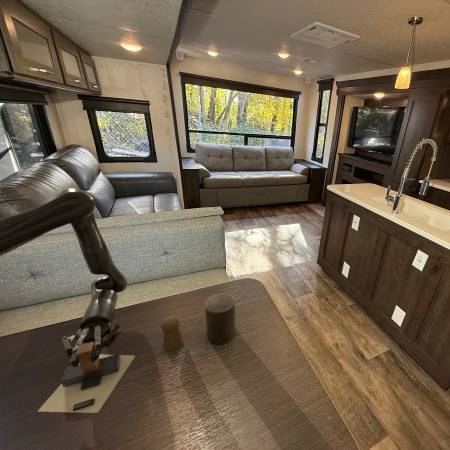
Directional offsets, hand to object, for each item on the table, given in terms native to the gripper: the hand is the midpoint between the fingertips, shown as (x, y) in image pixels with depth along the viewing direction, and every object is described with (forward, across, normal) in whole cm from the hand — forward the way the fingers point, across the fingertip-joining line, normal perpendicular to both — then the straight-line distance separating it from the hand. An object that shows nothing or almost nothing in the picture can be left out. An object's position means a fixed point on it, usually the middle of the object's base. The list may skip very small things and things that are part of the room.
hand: (83, 362), depth 63 cm
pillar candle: (-6, +35, +10) cm, 37 cm away
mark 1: (-1, 0, +8) cm, 8 cm away
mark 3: (+6, 0, +8) cm, 10 cm away
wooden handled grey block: (-3, 0, +8) cm, 9 cm away
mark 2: (+1, 0, +8) cm, 8 cm away
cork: (-6, +20, +10) cm, 23 cm away
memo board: (-1, 0, +10) cm, 10 cm away
